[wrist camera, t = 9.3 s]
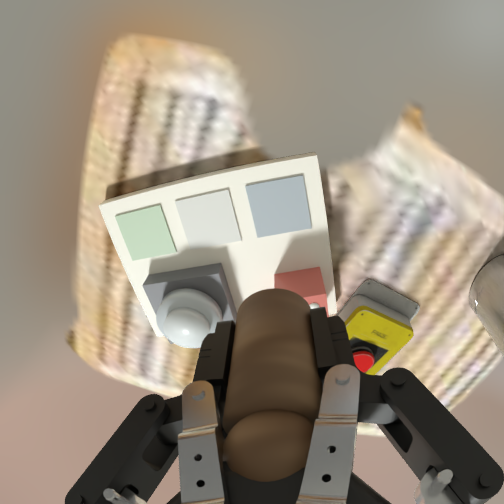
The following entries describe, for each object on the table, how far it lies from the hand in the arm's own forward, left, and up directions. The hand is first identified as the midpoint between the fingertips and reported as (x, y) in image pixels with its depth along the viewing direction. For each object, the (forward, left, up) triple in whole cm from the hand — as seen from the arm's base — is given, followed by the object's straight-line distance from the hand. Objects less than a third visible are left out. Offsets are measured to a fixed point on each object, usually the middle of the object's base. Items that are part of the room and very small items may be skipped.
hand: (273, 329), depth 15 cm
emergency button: (-7, +19, -18) cm, 27 cm away
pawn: (0, 0, -1) cm, 1 cm away
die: (-1, +9, -16) cm, 18 cm away
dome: (+10, +9, -15) cm, 20 cm away
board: (+6, +5, -17) cm, 19 cm away
